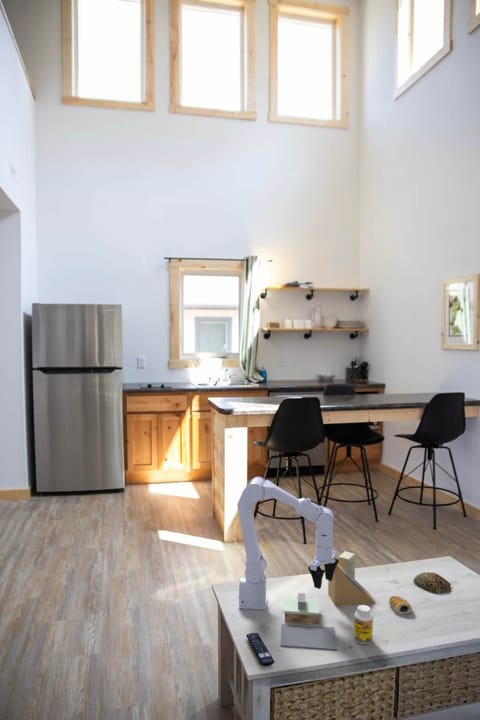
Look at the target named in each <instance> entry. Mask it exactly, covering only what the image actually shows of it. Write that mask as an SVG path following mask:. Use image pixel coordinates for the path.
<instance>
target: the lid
mask: <svg viewBox="0 0 480 720" xmlns="http://www.w3.org/2000/svg"><path fill="white" fill-rule="evenodd" d="M283 608H284V610H283V613H284V614H285V613H287V614H303V615H318V616H320V609H319V608H320V606H319V598H307V597H306V593H304V592H299V593H297V597H293V596H291V597H290V596H284V606H283Z"/></svg>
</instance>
